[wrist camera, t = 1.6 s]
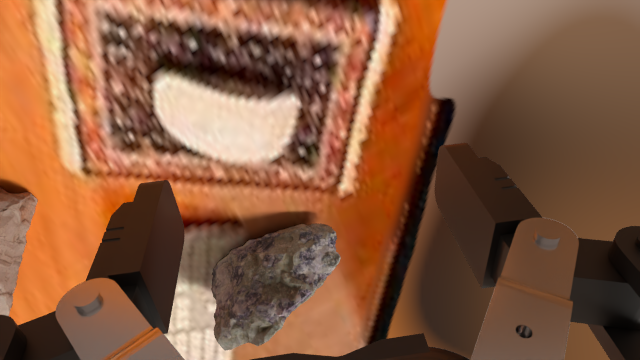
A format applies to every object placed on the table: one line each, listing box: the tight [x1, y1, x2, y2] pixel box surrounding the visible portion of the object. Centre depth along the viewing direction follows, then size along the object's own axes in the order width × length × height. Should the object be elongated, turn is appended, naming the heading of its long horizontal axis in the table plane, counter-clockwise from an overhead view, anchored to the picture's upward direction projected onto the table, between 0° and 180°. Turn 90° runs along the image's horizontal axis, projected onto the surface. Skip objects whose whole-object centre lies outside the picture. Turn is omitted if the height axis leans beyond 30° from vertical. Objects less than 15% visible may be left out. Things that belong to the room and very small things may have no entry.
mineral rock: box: [212, 224, 340, 350], centre depth 43 cm, size 13×11×10 cm
